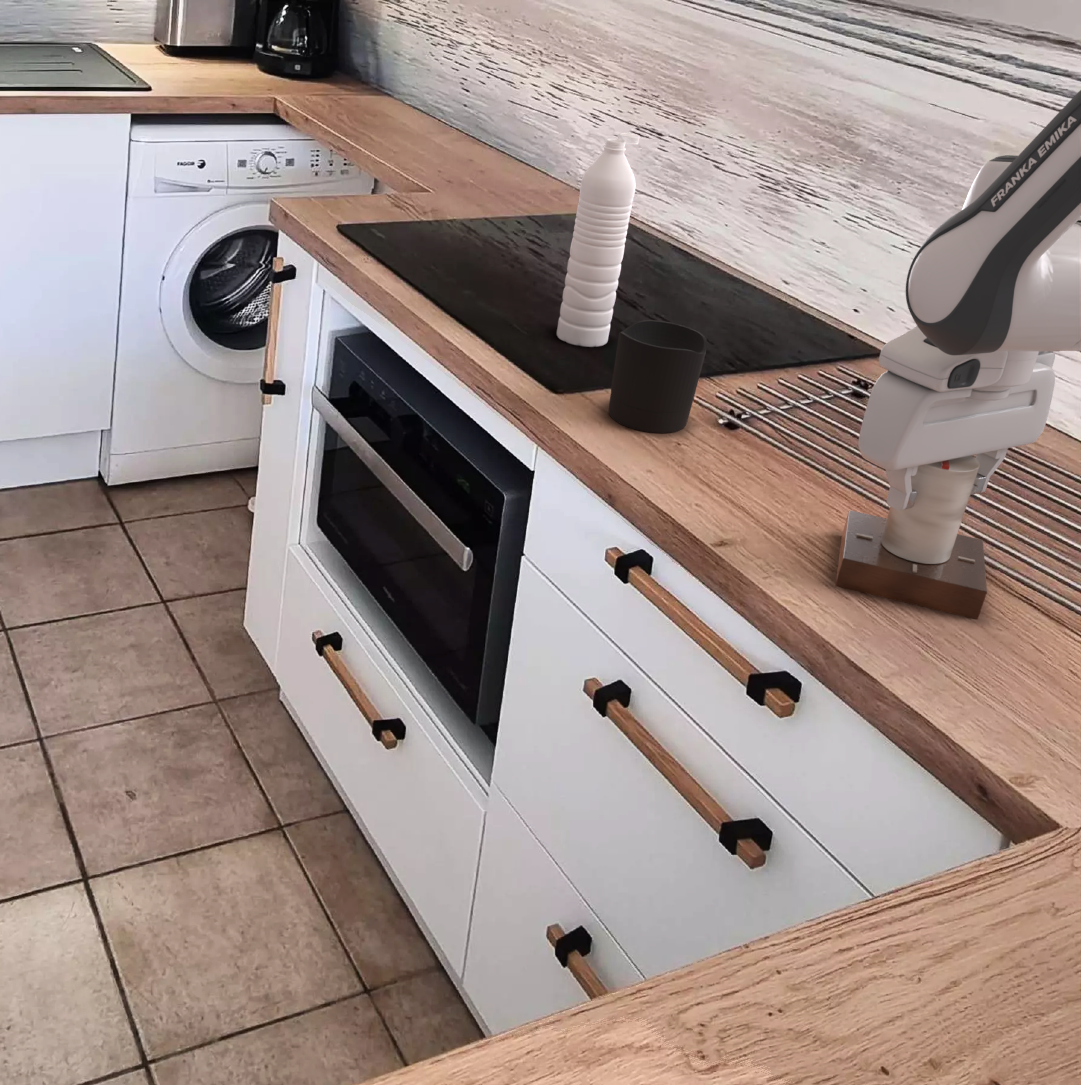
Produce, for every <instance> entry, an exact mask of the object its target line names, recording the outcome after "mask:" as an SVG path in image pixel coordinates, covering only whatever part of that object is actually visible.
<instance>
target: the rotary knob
mask: <svg viewBox="0 0 1081 1085" xmlns="http://www.w3.org/2000/svg"><path fill="white" fill-rule="evenodd" d="M975 458H976V457H975V456H974V455H971V456H966V457H961V458H956V459H951V460H946V461H941V462H936V463H931V464H926V465H920V466H918V469H917V472H916V475H915V476H911V487H912V489H914V490H916V491H918V493H917V496H916V499H915V500H914V506H913V507H912V508H909V509H905V510H900V511H898V510H896V509H894V508H892V507H890V506H889V509H888V512H887V516H886V518H887V520H886V523H885V526H884V530H883V533H882V537H881V543H882V545H883V546H884V547H885V548H886V549H887V550H888V551H889V552H891V553H893V554H894V555H897V556H899V557H901V558H904V559H906V560H910V561H913V562H918V563H924V564H939V563H943V562H946V561H947V560H948V559H949V558H950V556H951V553H952V549H953V546H954V543H955V540H956V537H957V534H958V533H959V531H960V527H961V525H962V521H963V518H964V516H965V512H966V510H967V505H968V503H969V500H970V496H971V495H970V494H971V491H972V488H973V484H974V481H975V478H976V475H977V472H978V469H979V462H978V461H977V460H976V459H975Z"/></svg>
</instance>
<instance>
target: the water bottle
mask: <svg viewBox="0 0 1081 1085" xmlns="http://www.w3.org/2000/svg"><path fill="white" fill-rule="evenodd" d="M640 137H641V136H640V135H639V134H636V133H630V132H620V133H619V134H618V138H606V139H605V140H606V141H605V142H604V143H605V145H602V147H603V151H602V152H600V154H599V155H598V156H597V158H595V160H594V161H593V162H592V163H591V164H590V165H589V167H587V169H586V170H585V171H584V174H583V175H582V177H581V181H580V187H579V198H578V204H577V206H576V207H577V208H576V209H577V210H576V213H575V216H576V217H575V219H574V225H573V230H574V231H573V232H572V239H571V243H570V247H569V248H570V249H569V258H568V260H567V265H566V270H567V273H566V275H565V278H564V285H565V286H564V288H563V291H562V302H561V304H560V309H559V317H558V320H557V329H556V336H557V338H558V339H559V340H561V341H563V342H566V344H570V345H574V346H580V347H586V348H587V347H589V348H594V347H596V348H597V347H602V346H604V345H606V344H607V343H608V341H609V335H610V331H611V322H612V320H613V314H614V306H615V302H616V298H617V292H616V291H617V290H618V286H619V278H620V275H621V271H622V261H623V258H624V254H625V248H626V245H625V243H626V242H627V238H626V237H627V234H628V229H629V223H630V216H631V214H632V212H631V211H632V209H633V208H632V207H633V202H634V198H635V194H636V187H637V186H636V185H637V184H636V183H637V182H636V177H635V174H634V172H633V170H632V167H631V165H630V163H629V161H628V159H627V156H626V154H625V151H627V148H626V145H627V146H638V145H639V143H640Z"/></svg>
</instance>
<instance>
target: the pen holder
mask: <svg viewBox="0 0 1081 1085" xmlns="http://www.w3.org/2000/svg"><path fill="white" fill-rule="evenodd" d="M707 350H708V339H707V337H706V335H704V334H703V333H701V331H698V330H696V329H694V328H692V327H688V326H686V325H683V324H679V323H674V322H670V321H665V320H656V319H643V320H642V319H641V320H639V321H635V322H634V323H632V324H630V325H629V326H627V327H626V328H625V329H624V330H623V329H622V331H619V332H618V339H617V346H616V352H615V359H614V365H613V366H614V367H613V372H612V373H613V374H612V380H611V386H610V396H609V403H608V414H609V416H610V418H612V419H613V420H614V422H616V423H617V424H620V425H621V426H624V427H626V428H628V429H632V430H634V431H640V432H643V433H650V434H671V433H676V432H679V431H681V430H683V429H684V428H685V427H686V426H687V424H688V420H689V418H690V413H691V409H692V405H693V403H694V399H695V395H696V392H697V388H698V385H699V379H700V376H701V372H702V368H703V365H704V360H705V356H706V353H707Z"/></svg>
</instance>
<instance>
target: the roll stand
mask: <svg viewBox="0 0 1081 1085" xmlns="http://www.w3.org/2000/svg"><path fill="white" fill-rule="evenodd" d="M847 512H848V513H847V516H846V520H845V523H844V526H843V530H842V533H841V538H840V546H839V555H838V563H837V568H836V569H837V570H836V578H835V584H834V585H835V587H839V588H843V589H848V590H851V591H856V592H860V593H863V594H869V595H872V596H877V597H880V598H886V599H888V600H889V599H890V600H894V601H898V602H902V603H907V604H910V605H914V606H920V607H922V608H928V609H932V610H935V611H940V612H944V613H947V614H948V613H949V614H952V615H956V616H960V617H965V618H969V619H973V620H979V617H980V614H981V611H982V608H983V606H984V603H985V600H986V597H987V594H988V586H987V575H986V561H985V560H986V559H985V548H984V539H981V538H977V537H972V536H967V535H963V534H957V537H956V540H955V543H954V546H953V549H952V553H951V556H950V558H949V559H948V560H947V561H946V562H943V563H939V564H924V563H918V562H913V561H910V560H906V559H904V558H901V557H899V556H897V555H894V554H893V553H891V552H889V551H888V550H887V549H886V548H885V547H884V546H883V545H882V543H881V537H882V533H883V530H884V526H885V523H886V520H887V517H884V516H883V517H882V516H879V515H878V516H877V515H873V514H869V513H865V512H859V511H856V510H851V509H850V510H848V511H847Z"/></svg>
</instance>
